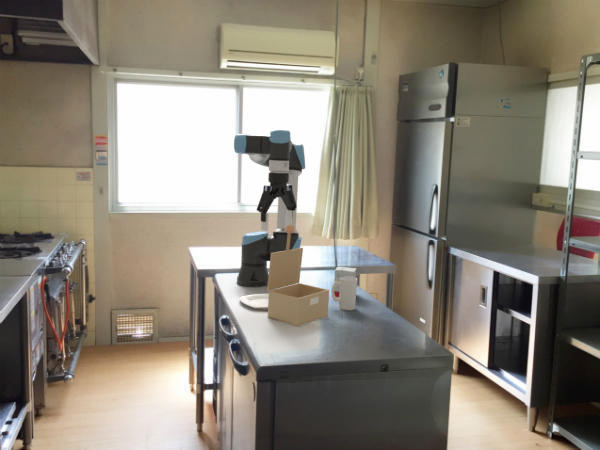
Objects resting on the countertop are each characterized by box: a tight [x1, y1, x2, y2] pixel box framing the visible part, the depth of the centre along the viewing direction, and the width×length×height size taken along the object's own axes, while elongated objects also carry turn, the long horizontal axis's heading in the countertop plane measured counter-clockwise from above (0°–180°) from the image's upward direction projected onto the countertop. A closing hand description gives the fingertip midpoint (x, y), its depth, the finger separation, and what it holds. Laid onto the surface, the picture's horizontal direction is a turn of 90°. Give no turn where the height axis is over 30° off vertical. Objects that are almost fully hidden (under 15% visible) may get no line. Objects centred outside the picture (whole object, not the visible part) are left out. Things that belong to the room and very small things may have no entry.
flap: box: [266, 225, 304, 292], centre depth 210 cm, size 24×18×3 cm
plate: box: [239, 293, 269, 310], centre depth 224 cm, size 19×19×2 cm
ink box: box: [333, 266, 357, 298], centre depth 242 cm, size 9×9×12 cm
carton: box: [267, 282, 330, 327], centre depth 208 cm, size 14×18×10 cm
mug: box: [330, 277, 358, 311], centre depth 222 cm, size 10×7×12 cm, turn 101°
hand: (276, 228), depth 213 cm, fingers open, 13 cm apart
